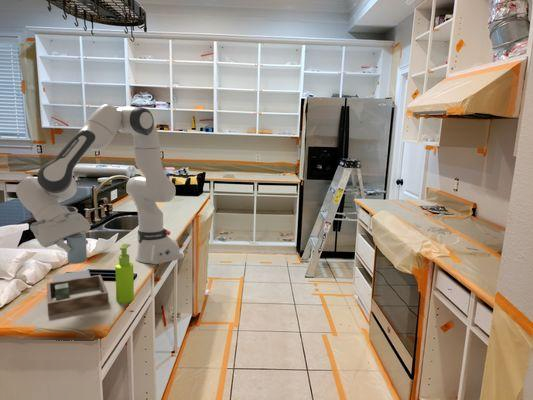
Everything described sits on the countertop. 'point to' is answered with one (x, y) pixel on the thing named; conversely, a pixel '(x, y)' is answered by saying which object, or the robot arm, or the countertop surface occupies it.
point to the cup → (77, 248)
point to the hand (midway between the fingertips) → (78, 247)
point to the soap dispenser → (124, 277)
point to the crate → (77, 301)
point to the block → (62, 291)
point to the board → (71, 275)
